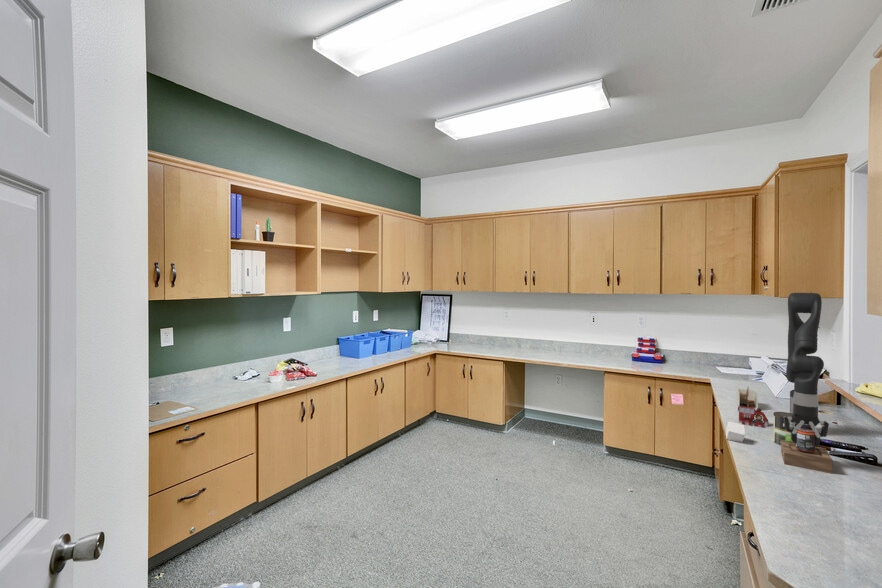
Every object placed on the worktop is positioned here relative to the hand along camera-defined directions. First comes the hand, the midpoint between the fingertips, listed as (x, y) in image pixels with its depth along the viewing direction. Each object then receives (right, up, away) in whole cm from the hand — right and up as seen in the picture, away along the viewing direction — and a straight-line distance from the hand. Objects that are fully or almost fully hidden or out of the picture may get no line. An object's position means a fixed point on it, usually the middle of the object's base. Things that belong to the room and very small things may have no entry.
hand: (805, 443), depth 162 cm
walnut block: (0, -8, 0) cm, 8 cm away
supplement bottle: (0, -3, 0) cm, 3 cm away
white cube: (-12, -8, +23) cm, 27 cm away
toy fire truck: (+12, -8, +42) cm, 44 cm away
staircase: (+29, -8, +68) cm, 75 cm away
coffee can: (+9, -8, +18) cm, 21 cm away
